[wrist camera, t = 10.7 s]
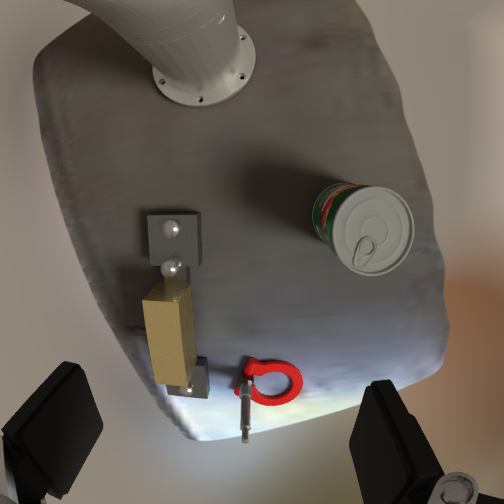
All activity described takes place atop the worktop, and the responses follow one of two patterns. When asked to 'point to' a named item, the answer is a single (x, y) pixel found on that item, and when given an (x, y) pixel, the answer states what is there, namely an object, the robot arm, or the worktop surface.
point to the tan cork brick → (171, 332)
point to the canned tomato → (364, 226)
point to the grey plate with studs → (179, 274)
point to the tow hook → (249, 392)
